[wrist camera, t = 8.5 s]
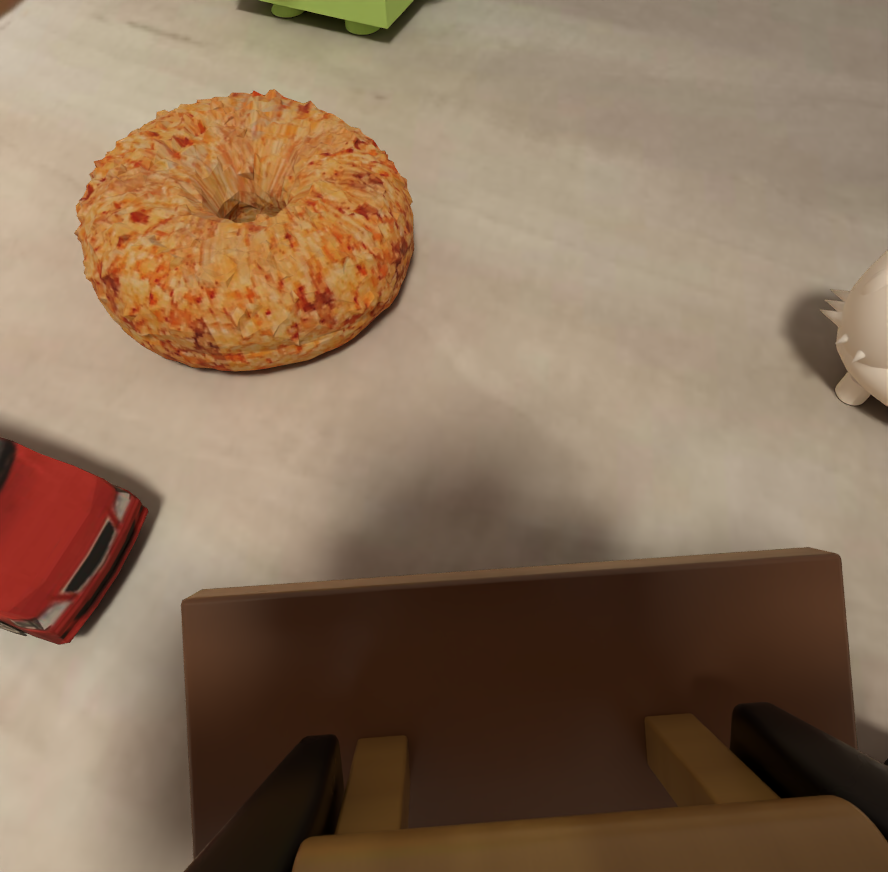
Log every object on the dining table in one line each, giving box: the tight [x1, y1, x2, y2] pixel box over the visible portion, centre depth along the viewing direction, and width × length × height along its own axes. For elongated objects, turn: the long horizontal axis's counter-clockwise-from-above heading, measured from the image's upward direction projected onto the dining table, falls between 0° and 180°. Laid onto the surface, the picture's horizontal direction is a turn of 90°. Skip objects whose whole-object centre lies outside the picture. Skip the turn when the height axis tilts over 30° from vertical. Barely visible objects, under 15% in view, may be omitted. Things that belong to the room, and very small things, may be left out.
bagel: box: [75, 89, 414, 371], centre depth 26 cm, size 13×14×5 cm
